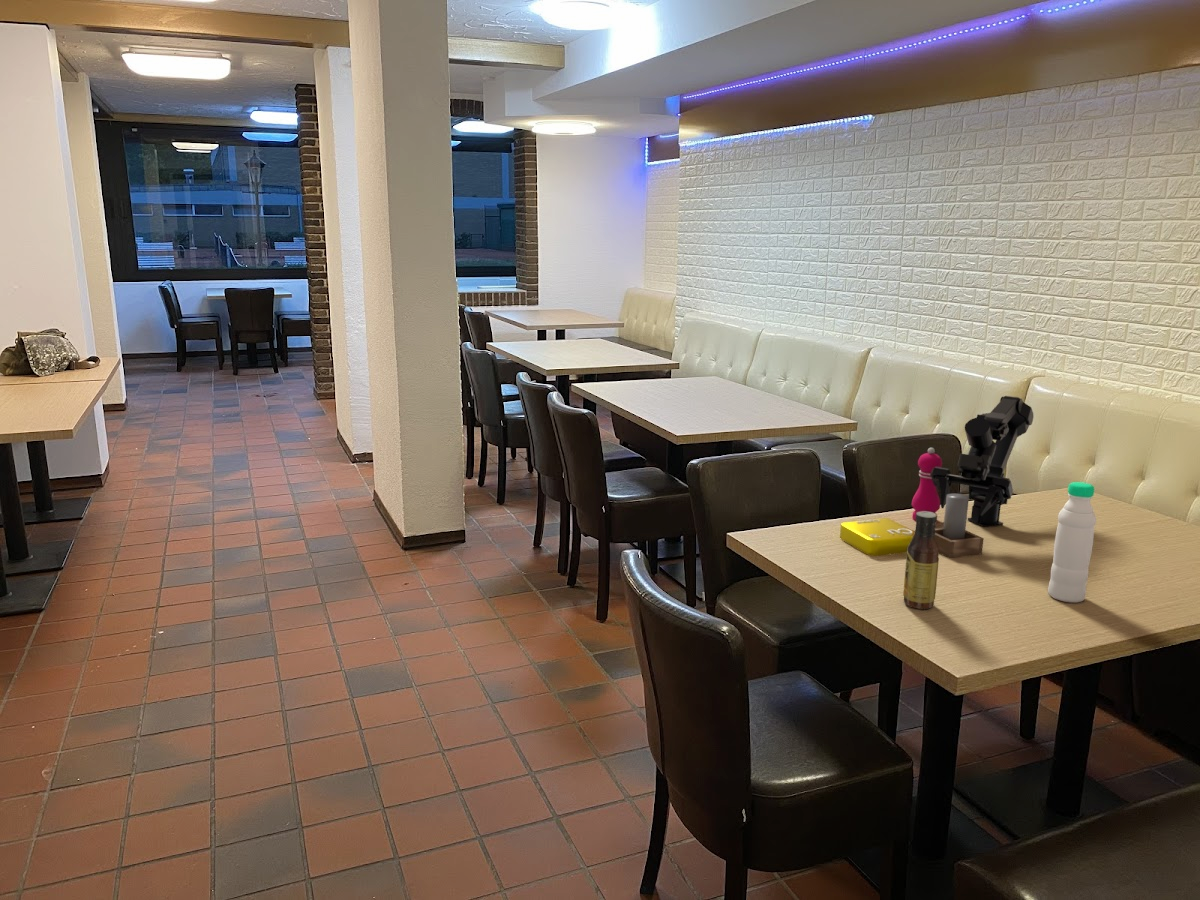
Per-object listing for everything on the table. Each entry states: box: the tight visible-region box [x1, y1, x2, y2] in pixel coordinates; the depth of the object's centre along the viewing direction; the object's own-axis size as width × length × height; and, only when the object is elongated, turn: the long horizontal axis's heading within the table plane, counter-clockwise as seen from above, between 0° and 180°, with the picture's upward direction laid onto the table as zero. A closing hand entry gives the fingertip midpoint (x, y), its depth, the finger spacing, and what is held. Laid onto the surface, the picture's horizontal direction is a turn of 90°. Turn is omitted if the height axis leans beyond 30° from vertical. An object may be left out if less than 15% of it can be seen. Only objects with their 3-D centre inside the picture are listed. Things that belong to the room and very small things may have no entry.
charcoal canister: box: [942, 493, 970, 540], centre depth 218 cm, size 5×5×12 cm
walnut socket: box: [934, 527, 984, 559], centre depth 219 cm, size 10×10×4 cm
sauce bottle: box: [902, 511, 940, 610], centre depth 184 cm, size 7×6×20 cm
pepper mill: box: [911, 447, 943, 522], centre depth 240 cm, size 7×7×20 cm
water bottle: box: [1047, 481, 1097, 604], centre depth 188 cm, size 7×7×25 cm
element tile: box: [839, 517, 915, 557], centre depth 223 cm, size 15×15×5 cm
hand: (961, 511), depth 221 cm, fingers open, 9 cm apart
